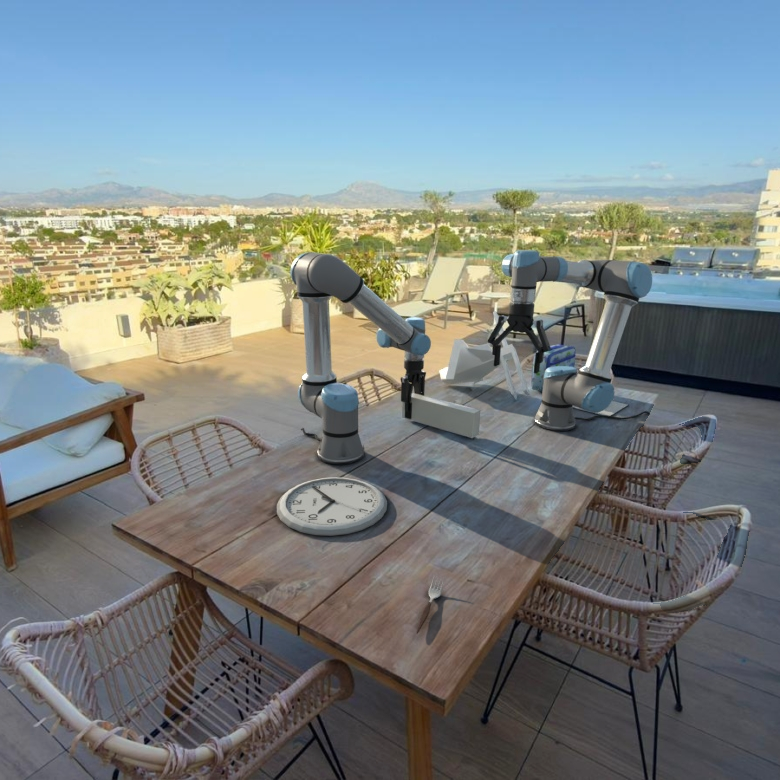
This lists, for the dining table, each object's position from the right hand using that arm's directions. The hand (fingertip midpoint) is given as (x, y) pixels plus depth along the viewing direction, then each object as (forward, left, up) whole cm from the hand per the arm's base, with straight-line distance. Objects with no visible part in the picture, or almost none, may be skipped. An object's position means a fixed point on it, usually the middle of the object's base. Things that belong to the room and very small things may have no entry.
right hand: (515, 368), depth 167 cm
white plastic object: (+6, -70, -30) cm, 76 cm away
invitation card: (-45, -58, -30) cm, 79 cm away
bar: (+24, -21, -29) cm, 43 cm away
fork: (+23, +78, -30) cm, 87 cm away
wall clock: (+51, +41, -30) cm, 72 cm away
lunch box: (-28, -81, -30) cm, 91 cm away
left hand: (+35, -28, -28) cm, 53 cm away
